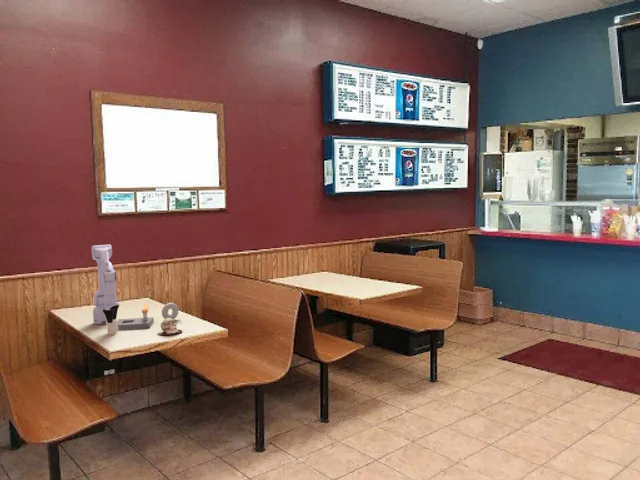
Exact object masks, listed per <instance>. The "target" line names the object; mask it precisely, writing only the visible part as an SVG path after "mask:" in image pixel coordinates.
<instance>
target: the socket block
mask: <svg viewBox="0 0 640 480" xmlns="http://www.w3.org/2000/svg"><path fill="white" fill-rule="evenodd" d="M142 315H143V317H138V318H135V317H133V318H118V319H119V322H118V331H120V330H121V331H122V330H139V329H141V330H142V329H149V328H150V327H151V326H152V325H153V324H154V322H155V321H154V317H152V316H151V317H148V312H147V313H142Z"/></svg>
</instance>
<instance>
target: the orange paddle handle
mask: <svg viewBox="0 0 640 480" xmlns="http://www.w3.org/2000/svg"><path fill="white" fill-rule="evenodd" d="M148 312H149V303H146V304H143V307H142V309H141V313H142V314H143V313H147V314H148Z"/></svg>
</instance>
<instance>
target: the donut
mask: <svg viewBox="0 0 640 480" xmlns="http://www.w3.org/2000/svg"><path fill="white" fill-rule="evenodd" d="M169 310H171V311H172V312H171V314H169ZM179 312H180V311H179V307H178V305H177V304H176V303H174V302H168V303H166V304H165V305H163V306H162V309H161V317H162V318H163V320H165V319H166V318H172V319H173V320H174V321H175V319H176V318H177V317H178V315H179Z"/></svg>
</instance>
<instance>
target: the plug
mask: <svg viewBox="0 0 640 480" xmlns="http://www.w3.org/2000/svg"><path fill="white" fill-rule="evenodd" d="M119 319H120V318H116V319H113V322H112V323H108V322H107V321H102V322H101V323H102V324H101V325H104V324H105V323H106V324H105V325H106V326H107V328H106V329H107V335H115V334H116V335H117V334H118V333H119V330H118V322H119Z"/></svg>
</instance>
